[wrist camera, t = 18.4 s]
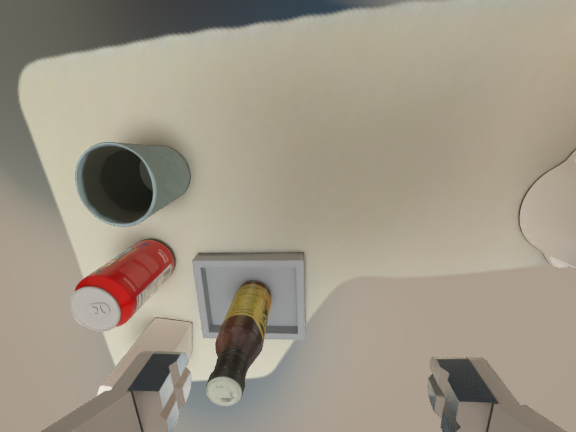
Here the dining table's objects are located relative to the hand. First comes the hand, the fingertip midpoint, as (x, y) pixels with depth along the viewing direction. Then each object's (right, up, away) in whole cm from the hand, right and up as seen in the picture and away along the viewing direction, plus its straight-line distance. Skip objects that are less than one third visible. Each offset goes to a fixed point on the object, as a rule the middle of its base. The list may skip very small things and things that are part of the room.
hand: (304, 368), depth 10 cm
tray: (-7, -8, +41) cm, 42 cm away
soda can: (-24, -2, +41) cm, 47 cm away
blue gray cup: (-20, +12, +36) cm, 43 cm away
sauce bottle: (-6, -8, +40) cm, 41 cm away
